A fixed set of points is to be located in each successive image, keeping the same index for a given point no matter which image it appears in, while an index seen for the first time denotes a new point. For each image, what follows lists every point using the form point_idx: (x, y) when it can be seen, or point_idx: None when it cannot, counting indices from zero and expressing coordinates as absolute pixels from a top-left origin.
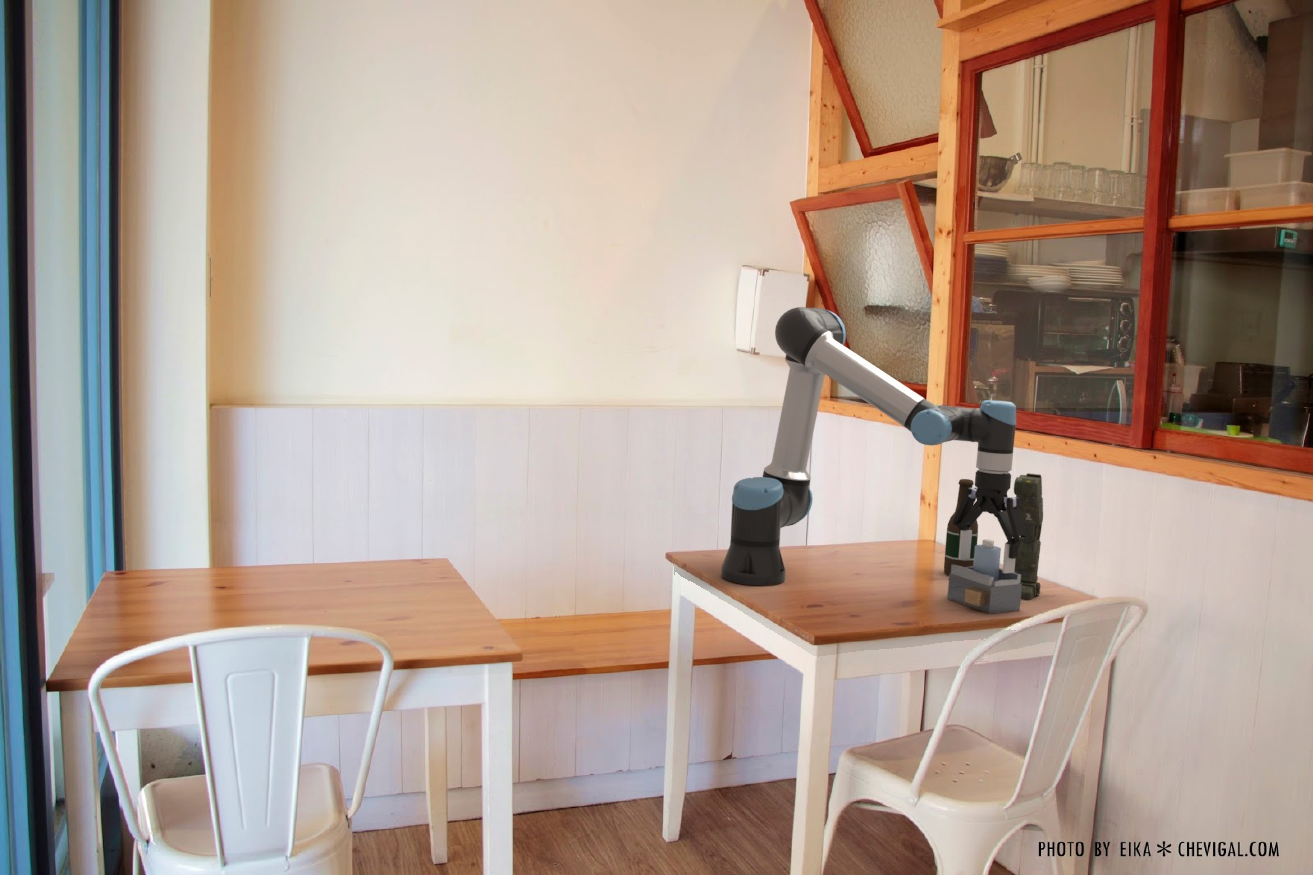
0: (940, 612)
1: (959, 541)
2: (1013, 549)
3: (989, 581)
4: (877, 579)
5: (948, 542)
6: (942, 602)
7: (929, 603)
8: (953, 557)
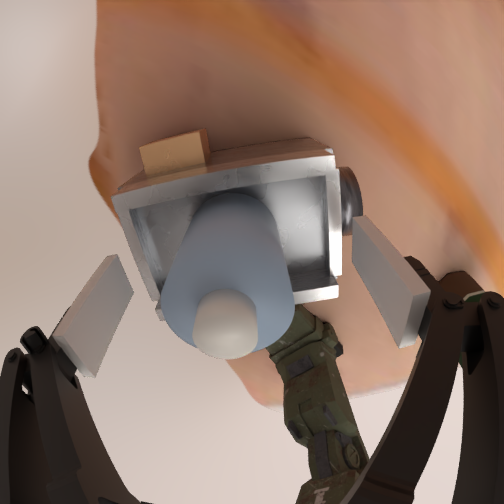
0: (178, 42)
1: (411, 260)
2: (54, 331)
3: (119, 191)
4: (482, 98)
5: None
6: (275, 98)
7: (271, 56)
8: (468, 298)
